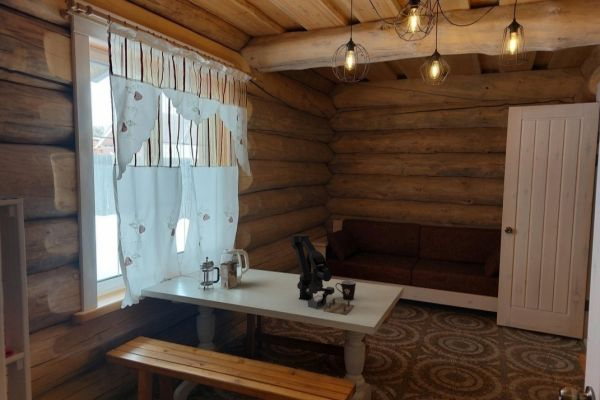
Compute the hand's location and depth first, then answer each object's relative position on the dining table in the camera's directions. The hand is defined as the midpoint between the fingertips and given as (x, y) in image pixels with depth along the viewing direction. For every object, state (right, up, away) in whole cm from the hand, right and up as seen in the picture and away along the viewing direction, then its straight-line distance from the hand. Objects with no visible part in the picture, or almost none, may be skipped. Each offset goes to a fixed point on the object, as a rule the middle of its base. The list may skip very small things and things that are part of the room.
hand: (317, 303), depth 231 cm
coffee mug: (+18, 0, +13) cm, 22 cm away
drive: (0, -1, 0) cm, 1 cm away
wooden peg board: (+12, -2, -5) cm, 13 cm away
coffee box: (-56, +2, +34) cm, 65 cm away
